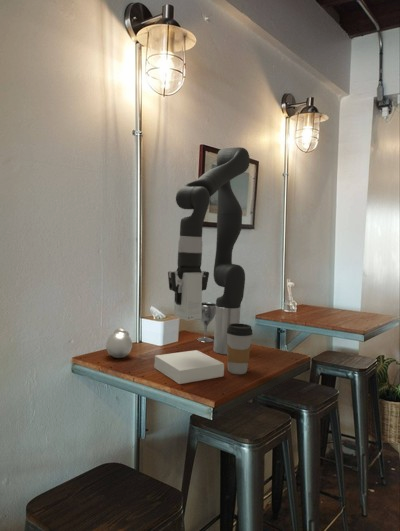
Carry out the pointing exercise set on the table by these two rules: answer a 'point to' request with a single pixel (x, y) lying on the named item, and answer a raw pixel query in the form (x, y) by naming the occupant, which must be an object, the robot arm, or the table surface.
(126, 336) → the silver egg shape
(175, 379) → the block
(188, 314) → the skincare box
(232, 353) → the coffee cup
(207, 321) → the wine glass
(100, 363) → the table surface
